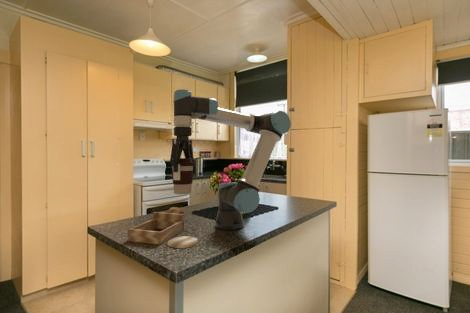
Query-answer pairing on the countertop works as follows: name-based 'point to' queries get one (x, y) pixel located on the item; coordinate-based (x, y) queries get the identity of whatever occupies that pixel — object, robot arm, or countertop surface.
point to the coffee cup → (184, 177)
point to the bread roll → (175, 210)
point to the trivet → (182, 242)
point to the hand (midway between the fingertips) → (182, 178)
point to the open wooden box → (161, 221)
